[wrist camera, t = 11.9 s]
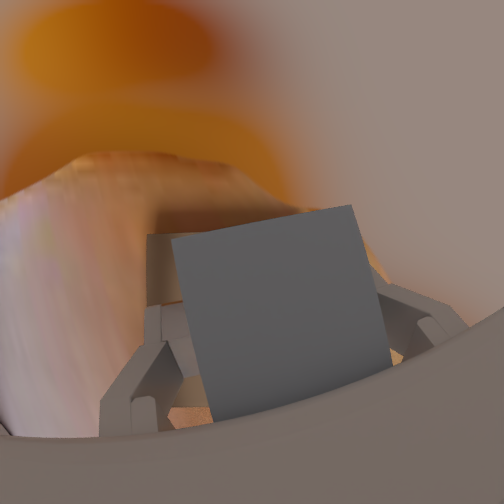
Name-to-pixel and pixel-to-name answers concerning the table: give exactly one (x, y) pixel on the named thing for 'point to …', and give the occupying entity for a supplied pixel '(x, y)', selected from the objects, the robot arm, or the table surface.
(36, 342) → the table surface
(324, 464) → the robot arm
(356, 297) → the slate block
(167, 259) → the walnut plinth
